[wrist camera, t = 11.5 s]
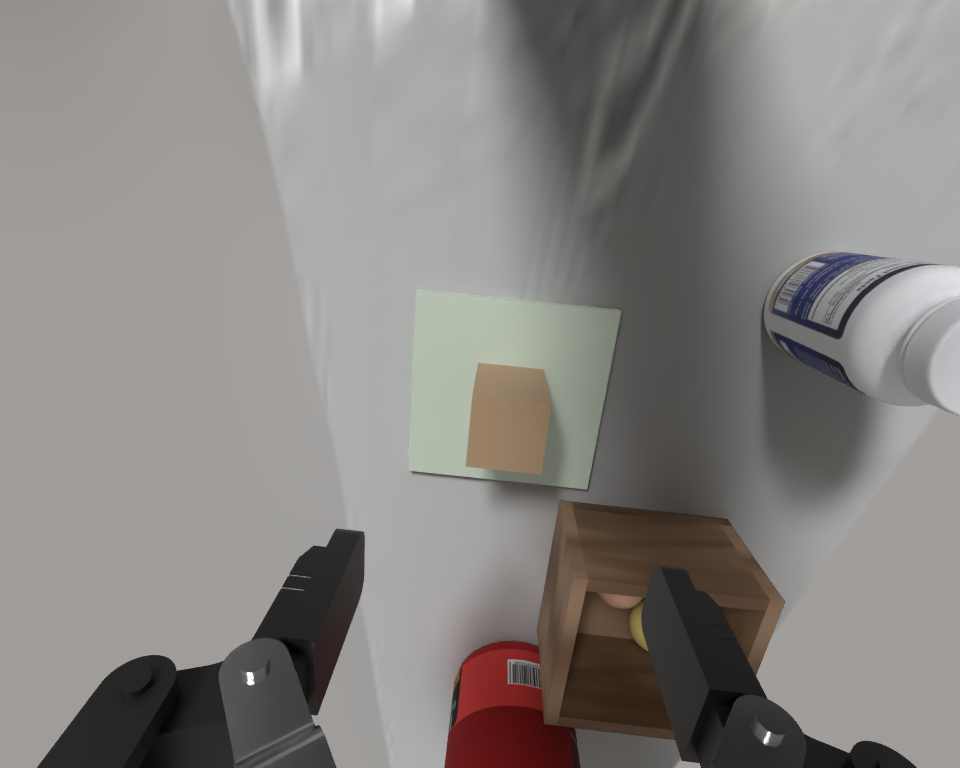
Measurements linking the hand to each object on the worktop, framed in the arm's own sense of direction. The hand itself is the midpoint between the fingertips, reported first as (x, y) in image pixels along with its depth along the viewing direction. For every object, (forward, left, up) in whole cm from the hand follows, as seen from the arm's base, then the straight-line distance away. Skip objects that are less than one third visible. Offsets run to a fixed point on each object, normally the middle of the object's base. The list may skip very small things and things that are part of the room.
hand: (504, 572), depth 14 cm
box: (+12, +9, -15) cm, 21 cm away
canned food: (+22, +3, -15) cm, 26 cm away
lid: (0, 0, -15) cm, 15 cm away
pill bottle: (-6, +15, -15) cm, 22 cm away
